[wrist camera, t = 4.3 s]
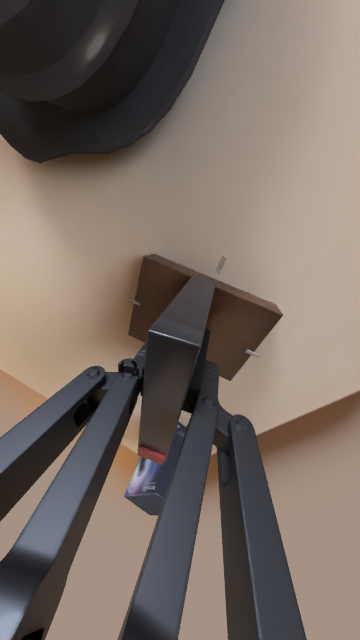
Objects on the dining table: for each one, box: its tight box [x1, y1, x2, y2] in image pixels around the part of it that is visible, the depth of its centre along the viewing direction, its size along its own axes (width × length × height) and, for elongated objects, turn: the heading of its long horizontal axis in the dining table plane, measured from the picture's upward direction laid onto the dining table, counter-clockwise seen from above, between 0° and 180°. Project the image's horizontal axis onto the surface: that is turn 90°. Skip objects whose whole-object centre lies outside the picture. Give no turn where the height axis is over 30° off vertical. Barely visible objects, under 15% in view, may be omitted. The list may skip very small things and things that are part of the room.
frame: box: [138, 275, 216, 465], centre depth 13 cm, size 11×2×10 cm, turn 170°
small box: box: [124, 422, 187, 515], centre depth 30 cm, size 11×6×10 cm, turn 141°
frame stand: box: [128, 254, 283, 381], centre depth 19 cm, size 15×15×3 cm
